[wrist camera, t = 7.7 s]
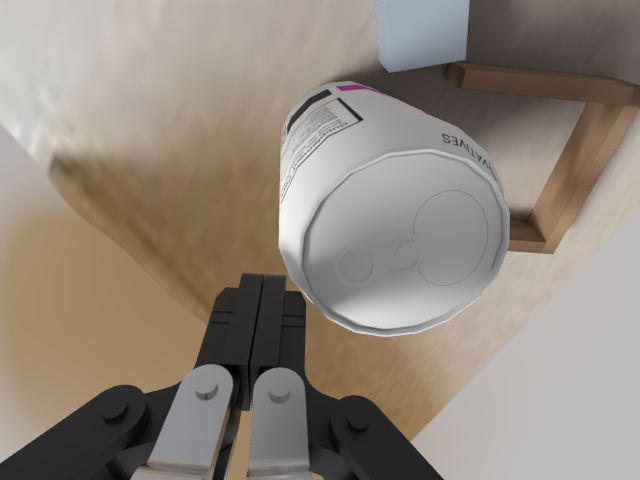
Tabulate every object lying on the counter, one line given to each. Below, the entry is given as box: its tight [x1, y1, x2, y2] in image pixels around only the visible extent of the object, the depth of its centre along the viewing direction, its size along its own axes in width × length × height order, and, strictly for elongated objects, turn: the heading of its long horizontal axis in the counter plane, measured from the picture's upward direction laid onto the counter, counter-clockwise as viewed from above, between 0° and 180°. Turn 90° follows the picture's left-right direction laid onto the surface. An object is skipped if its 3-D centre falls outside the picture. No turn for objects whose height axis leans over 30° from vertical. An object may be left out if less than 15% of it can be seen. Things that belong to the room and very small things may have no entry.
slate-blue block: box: [375, 0, 470, 73], centre depth 19 cm, size 4×4×4 cm
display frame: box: [445, 61, 640, 254], centre depth 25 cm, size 12×11×3 cm
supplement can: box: [279, 81, 510, 337], centre depth 18 cm, size 8×8×15 cm
